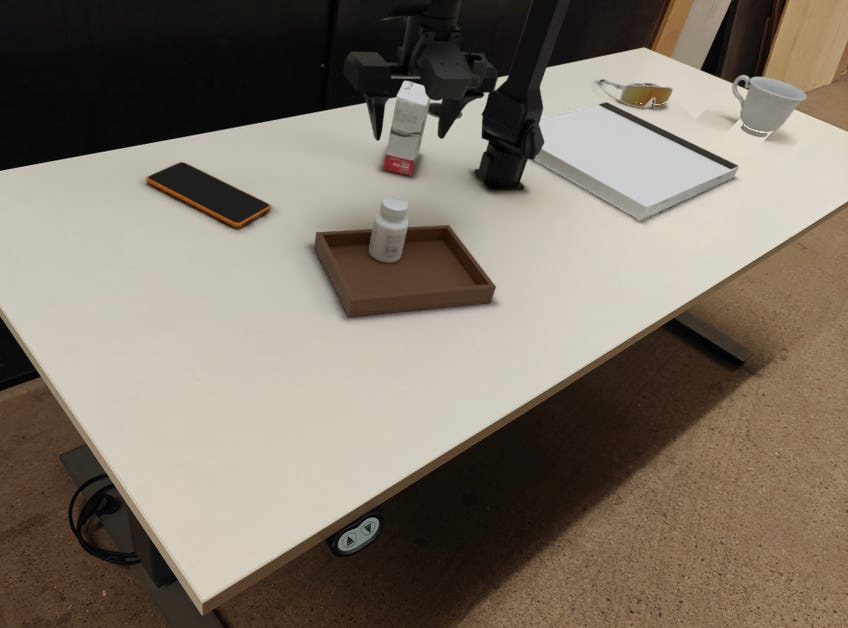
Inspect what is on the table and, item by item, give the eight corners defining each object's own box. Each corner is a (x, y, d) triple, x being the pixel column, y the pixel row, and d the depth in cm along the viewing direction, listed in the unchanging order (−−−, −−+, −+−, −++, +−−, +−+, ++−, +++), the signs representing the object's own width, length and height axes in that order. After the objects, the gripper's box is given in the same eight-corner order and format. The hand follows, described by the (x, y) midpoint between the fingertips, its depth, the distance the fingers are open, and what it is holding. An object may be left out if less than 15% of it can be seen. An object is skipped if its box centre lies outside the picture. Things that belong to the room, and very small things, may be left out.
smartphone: (237, 230, 88) (238, 224, 88) (144, 182, 93) (143, 177, 92) (273, 209, 93) (273, 203, 93) (182, 165, 98) (182, 160, 98)
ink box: (411, 177, 107) (427, 105, 100) (381, 170, 108) (395, 97, 100) (418, 155, 114) (434, 86, 106) (391, 148, 114) (404, 78, 106)
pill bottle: (406, 254, 90) (418, 203, 84) (390, 268, 87) (401, 216, 81) (379, 241, 91) (389, 190, 86) (361, 254, 88) (371, 201, 83)
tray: (444, 240, 95) (449, 224, 93) (491, 302, 85) (496, 287, 84) (313, 248, 88) (316, 231, 86) (348, 317, 79) (351, 300, 77)
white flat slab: (605, 101, 142) (740, 165, 127) (601, 112, 144) (733, 177, 129) (502, 127, 122) (646, 207, 107) (498, 139, 124) (640, 220, 109)
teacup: (725, 111, 158) (748, 68, 151) (787, 137, 151) (814, 93, 145) (706, 121, 151) (729, 76, 144) (770, 148, 144) (797, 102, 138)
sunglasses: (623, 107, 148) (631, 84, 145) (588, 90, 160) (595, 68, 157) (676, 111, 152) (685, 88, 149) (639, 94, 163) (646, 72, 161)
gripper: (385, 33, 69) (364, 171, 80) (537, 38, 75) (498, 165, 86) (349, -2, 76) (334, 129, 87) (491, 5, 83) (461, 126, 93)
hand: (409, 138), depth 88 cm, fingers open, 9 cm apart
